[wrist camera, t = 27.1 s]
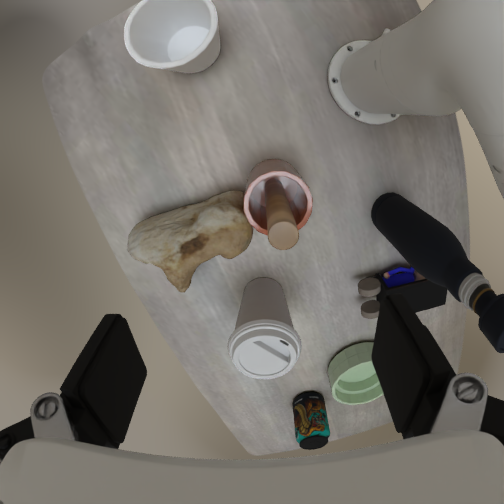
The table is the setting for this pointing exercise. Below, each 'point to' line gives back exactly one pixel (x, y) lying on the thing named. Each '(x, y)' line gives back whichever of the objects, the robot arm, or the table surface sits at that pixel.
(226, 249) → the stone
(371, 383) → the bowl
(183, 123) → the table surface
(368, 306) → the figurine character
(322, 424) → the beverage can
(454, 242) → the black water bottle
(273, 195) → the stirring stick
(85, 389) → the robot arm
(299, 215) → the holder
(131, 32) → the cup
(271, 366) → the coffee cup
